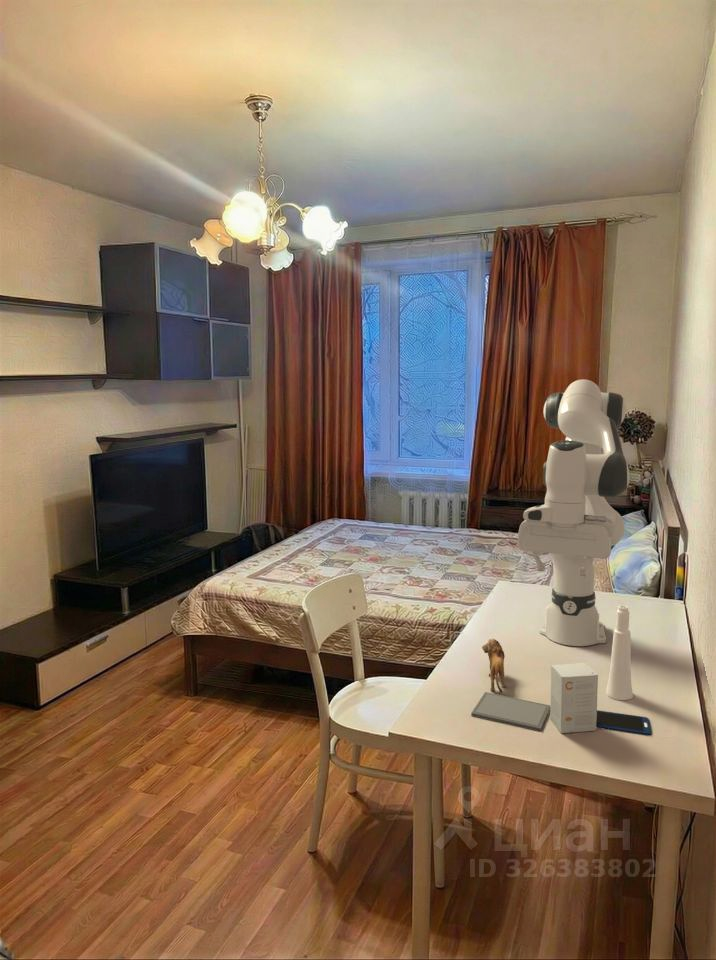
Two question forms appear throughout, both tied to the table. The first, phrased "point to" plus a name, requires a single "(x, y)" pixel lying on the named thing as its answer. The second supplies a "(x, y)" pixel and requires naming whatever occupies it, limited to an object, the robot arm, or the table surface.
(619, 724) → the cell phone
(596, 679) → the small box
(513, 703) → the grey tablet
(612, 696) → the cosmetic bottle
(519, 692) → the table surface
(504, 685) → the lion figurine
